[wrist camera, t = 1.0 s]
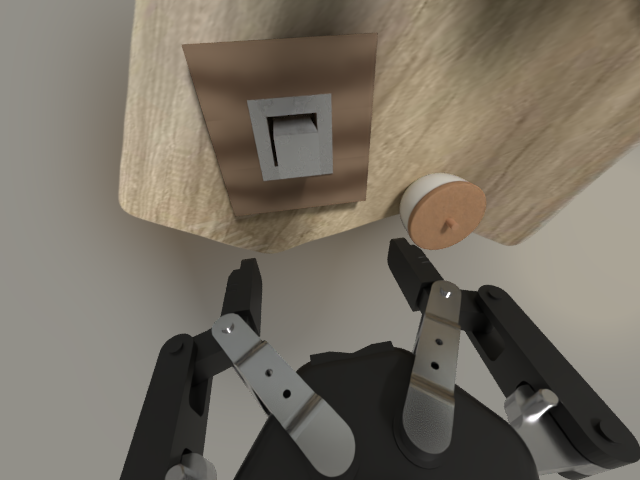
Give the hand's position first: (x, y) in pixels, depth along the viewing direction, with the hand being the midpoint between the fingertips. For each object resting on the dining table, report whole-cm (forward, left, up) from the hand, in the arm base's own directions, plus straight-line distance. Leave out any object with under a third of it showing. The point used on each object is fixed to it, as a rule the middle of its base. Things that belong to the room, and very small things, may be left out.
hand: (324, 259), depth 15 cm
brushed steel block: (0, 0, -28) cm, 28 cm away
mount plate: (0, 0, -28) cm, 28 cm away
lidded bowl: (+13, +23, -28) cm, 39 cm away
